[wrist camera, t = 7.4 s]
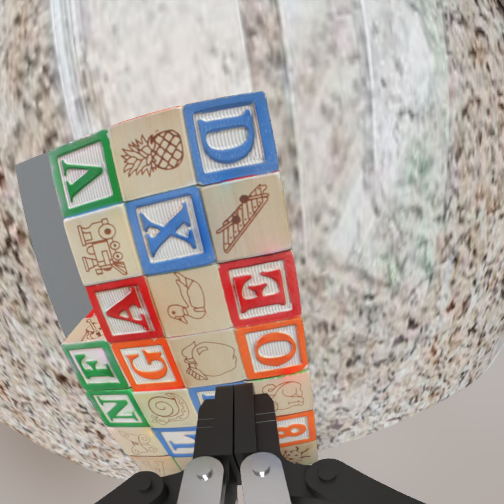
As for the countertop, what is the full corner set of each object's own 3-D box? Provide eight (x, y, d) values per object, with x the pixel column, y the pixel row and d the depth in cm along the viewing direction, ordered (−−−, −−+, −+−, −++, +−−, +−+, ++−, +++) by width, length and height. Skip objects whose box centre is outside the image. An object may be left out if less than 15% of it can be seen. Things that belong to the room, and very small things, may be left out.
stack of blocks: (259, 109, 16) (62, 161, 16) (269, 86, 10) (-2, 172, 10) (304, 404, 23) (158, 421, 23) (319, 465, 17) (144, 479, 17)
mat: (249, 103, 16) (249, 102, 16) (290, 419, 24) (290, 423, 23) (18, 164, 16) (15, 165, 16) (117, 428, 24) (116, 431, 23)
